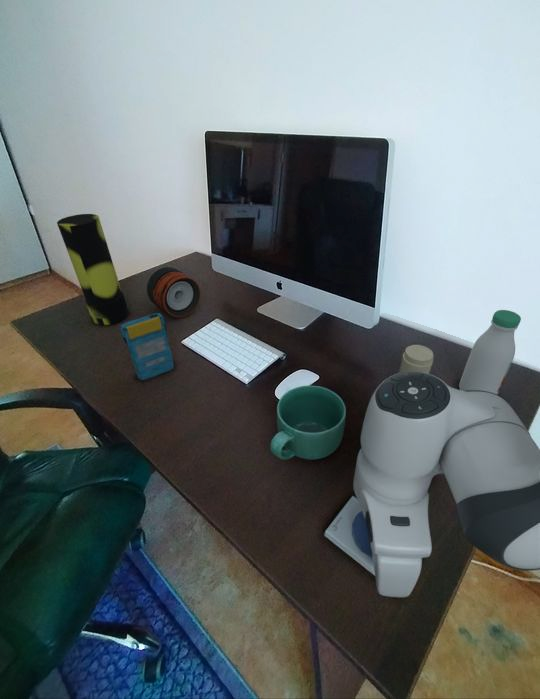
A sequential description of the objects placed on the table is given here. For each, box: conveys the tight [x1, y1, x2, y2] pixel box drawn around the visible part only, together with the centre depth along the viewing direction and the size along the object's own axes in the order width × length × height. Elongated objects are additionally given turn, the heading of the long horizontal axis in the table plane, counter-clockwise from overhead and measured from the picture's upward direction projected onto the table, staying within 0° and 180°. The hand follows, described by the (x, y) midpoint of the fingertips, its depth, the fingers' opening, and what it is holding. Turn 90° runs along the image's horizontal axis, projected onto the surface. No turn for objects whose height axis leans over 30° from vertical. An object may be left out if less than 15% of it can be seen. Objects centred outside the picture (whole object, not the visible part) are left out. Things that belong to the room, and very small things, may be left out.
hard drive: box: [323, 495, 375, 577], centre depth 56 cm, size 2×8×12 cm
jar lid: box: [352, 511, 373, 557], centre depth 55 cm, size 7×7×2 cm
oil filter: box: [146, 266, 201, 318], centre depth 114 cm, size 13×12×13 cm
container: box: [56, 213, 129, 326], centre depth 106 cm, size 11×11×30 cm
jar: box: [398, 344, 434, 374], centre depth 81 cm, size 6×6×10 cm
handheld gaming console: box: [119, 312, 175, 381], centre depth 88 cm, size 10×4×15 cm, turn 123°
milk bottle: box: [458, 309, 522, 395], centre depth 77 cm, size 8×8×20 cm
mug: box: [269, 385, 347, 461], centre depth 69 cm, size 17×13×10 cm
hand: (375, 536), depth 55 cm, fingers closed on jar lid, 7 cm apart
